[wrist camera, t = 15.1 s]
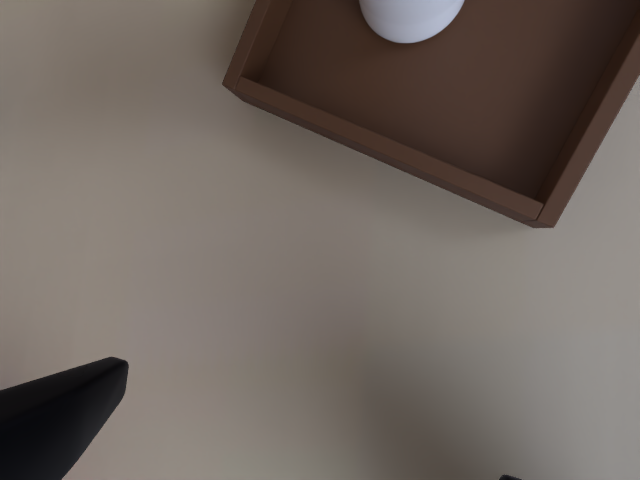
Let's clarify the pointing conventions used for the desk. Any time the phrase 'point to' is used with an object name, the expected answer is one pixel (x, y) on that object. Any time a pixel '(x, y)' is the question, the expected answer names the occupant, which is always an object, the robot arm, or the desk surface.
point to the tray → (453, 91)
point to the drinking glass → (409, 18)
